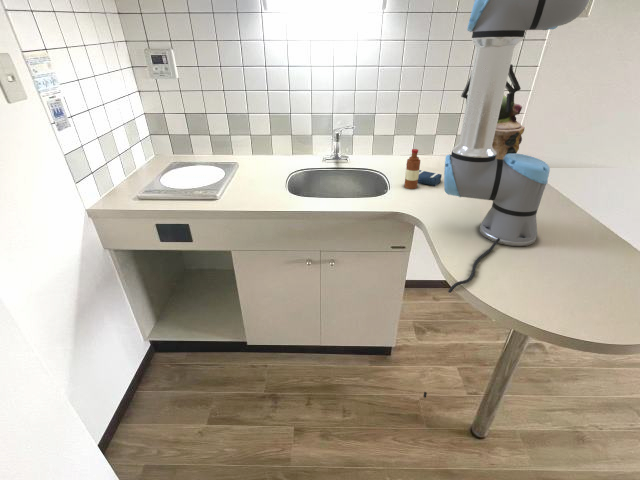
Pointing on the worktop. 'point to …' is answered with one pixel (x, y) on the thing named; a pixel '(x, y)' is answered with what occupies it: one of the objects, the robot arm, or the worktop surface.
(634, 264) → the worktop surface
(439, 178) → the towel
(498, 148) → the cookie jar
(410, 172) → the bottle
